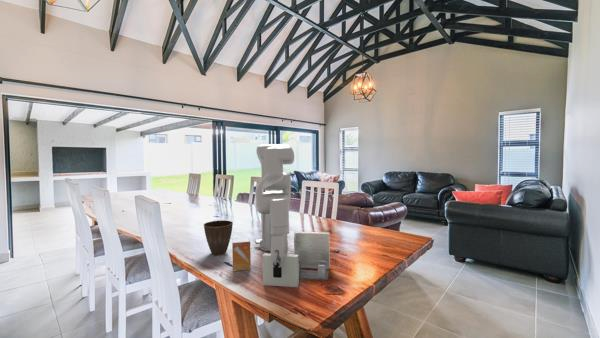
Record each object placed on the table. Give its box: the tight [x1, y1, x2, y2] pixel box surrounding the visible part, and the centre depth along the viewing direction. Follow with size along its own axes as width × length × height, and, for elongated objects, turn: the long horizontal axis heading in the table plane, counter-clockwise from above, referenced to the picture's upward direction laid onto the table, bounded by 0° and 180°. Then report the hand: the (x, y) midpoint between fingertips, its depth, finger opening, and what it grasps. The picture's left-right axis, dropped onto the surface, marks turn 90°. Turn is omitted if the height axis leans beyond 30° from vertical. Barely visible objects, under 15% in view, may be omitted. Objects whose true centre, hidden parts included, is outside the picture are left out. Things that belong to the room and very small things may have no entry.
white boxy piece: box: [293, 231, 331, 282], centre depth 122 cm, size 16×14×16 cm
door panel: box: [261, 252, 300, 288], centre depth 111 cm, size 14×2×12 cm, turn 80°
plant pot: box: [203, 220, 233, 256], centre depth 150 cm, size 15×15×16 cm
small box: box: [231, 237, 252, 272], centre depth 129 cm, size 8×6×13 cm
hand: (280, 272), depth 111 cm, fingers open, 9 cm apart
